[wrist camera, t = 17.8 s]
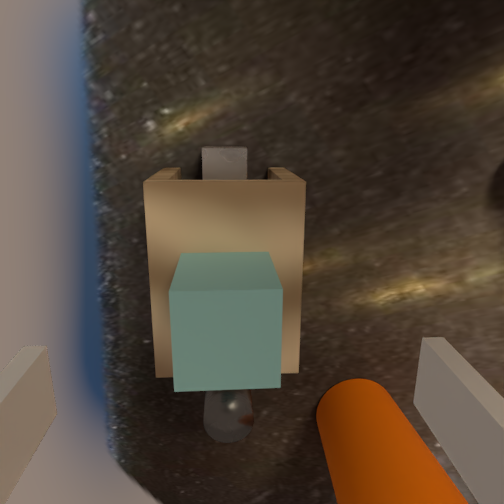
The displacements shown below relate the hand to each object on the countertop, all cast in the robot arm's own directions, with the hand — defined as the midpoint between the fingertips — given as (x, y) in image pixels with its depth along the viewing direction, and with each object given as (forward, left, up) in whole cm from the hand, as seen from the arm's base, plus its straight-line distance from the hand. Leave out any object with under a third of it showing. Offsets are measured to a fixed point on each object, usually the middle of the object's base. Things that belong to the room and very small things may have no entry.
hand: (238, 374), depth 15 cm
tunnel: (0, 0, -19) cm, 19 cm away
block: (+1, 0, -10) cm, 10 cm away
